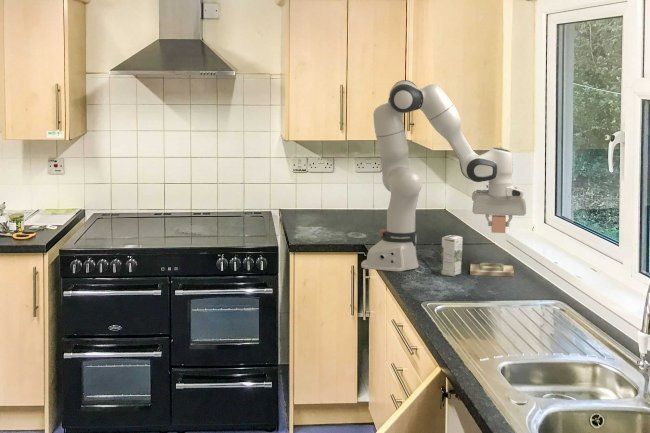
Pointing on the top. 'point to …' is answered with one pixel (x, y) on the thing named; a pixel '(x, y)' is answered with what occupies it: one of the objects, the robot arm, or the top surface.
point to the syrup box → (451, 255)
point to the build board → (491, 269)
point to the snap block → (498, 223)
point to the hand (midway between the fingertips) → (498, 226)
